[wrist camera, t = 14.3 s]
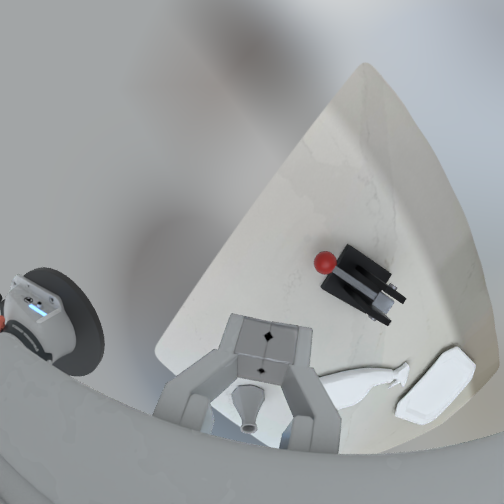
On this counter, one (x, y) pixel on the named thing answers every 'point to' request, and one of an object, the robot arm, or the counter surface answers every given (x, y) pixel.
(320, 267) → the lever
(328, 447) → the robot arm
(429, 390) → the plate
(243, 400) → the flask
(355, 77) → the counter surface
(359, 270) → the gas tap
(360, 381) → the spray bottle
